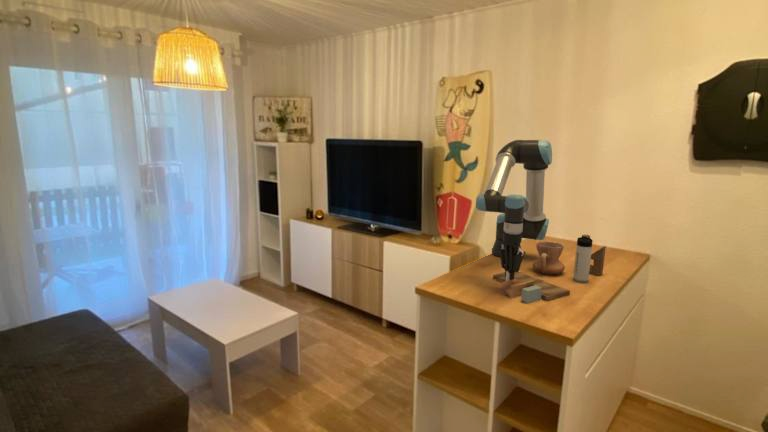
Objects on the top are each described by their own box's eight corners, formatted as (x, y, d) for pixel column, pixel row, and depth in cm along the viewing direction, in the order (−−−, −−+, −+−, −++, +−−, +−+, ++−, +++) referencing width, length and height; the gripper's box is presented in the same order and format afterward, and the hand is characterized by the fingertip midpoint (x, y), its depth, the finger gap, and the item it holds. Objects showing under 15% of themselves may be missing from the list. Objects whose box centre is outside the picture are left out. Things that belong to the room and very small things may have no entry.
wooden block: (599, 276, 192) (604, 239, 189) (576, 270, 200) (580, 235, 197) (602, 274, 195) (606, 238, 191) (579, 269, 203) (583, 234, 199)
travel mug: (587, 278, 188) (591, 237, 185) (589, 283, 182) (593, 240, 178) (572, 277, 190) (576, 235, 187) (573, 281, 184) (578, 239, 180)
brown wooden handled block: (500, 293, 171) (501, 282, 170) (527, 286, 178) (528, 275, 177) (511, 298, 165) (512, 286, 164) (538, 291, 173) (539, 280, 172)
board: (492, 278, 188) (493, 274, 187) (514, 273, 195) (514, 270, 194) (547, 301, 162) (547, 296, 162) (569, 294, 169) (570, 290, 169)
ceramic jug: (539, 264, 209) (541, 238, 206) (569, 270, 199) (571, 242, 196) (525, 274, 196) (527, 245, 193) (556, 280, 186) (558, 251, 183)
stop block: (521, 300, 163) (522, 288, 162) (534, 296, 167) (535, 285, 166) (527, 303, 160) (528, 291, 159) (541, 299, 164) (542, 287, 163)
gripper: (494, 230, 173) (491, 282, 177) (518, 236, 161) (514, 292, 166) (507, 228, 176) (503, 279, 181) (531, 234, 165) (527, 289, 170)
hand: (508, 285), depth 173 cm, fingers closed
